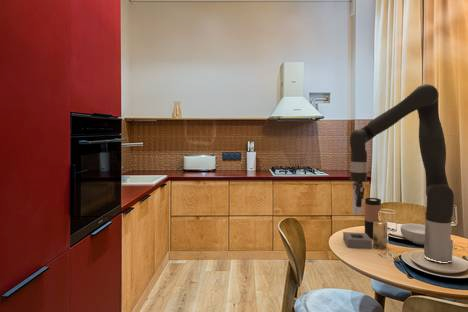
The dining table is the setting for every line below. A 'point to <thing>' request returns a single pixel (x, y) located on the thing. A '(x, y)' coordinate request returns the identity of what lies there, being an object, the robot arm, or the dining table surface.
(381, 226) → the round bit
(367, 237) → the socket block
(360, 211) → the square bit
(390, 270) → the dining table surface
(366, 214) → the travel mug
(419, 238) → the cereal bowl
